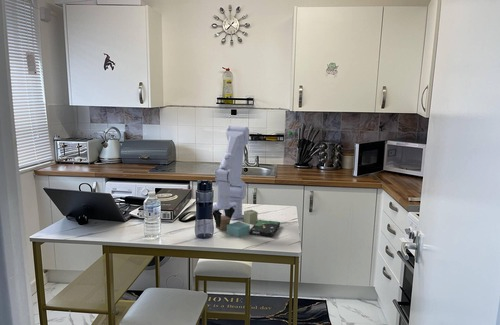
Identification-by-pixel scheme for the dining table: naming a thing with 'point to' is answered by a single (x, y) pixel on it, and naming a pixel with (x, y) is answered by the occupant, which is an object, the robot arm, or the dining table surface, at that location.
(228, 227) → the teal block
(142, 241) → the dining table surface
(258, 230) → the disk drive
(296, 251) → the dining table surface
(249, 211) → the olive block
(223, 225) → the walnut block
